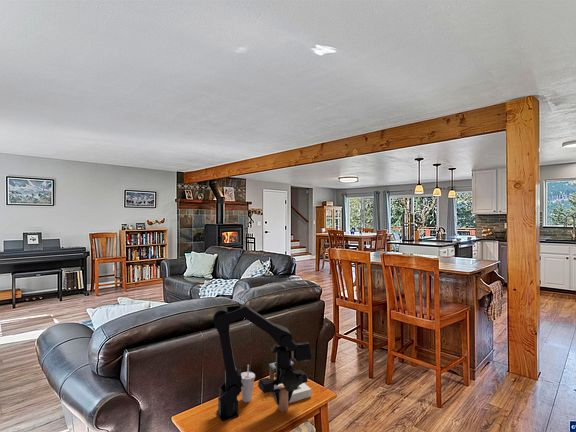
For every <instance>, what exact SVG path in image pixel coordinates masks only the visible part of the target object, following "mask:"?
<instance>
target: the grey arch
mask: <svg viewBox="0 0 576 432" xmlns="http://www.w3.org/2000/svg"><path fill="white" fill-rule="evenodd" d="M275 363H276V361H275V362H272V363H269V364H268V366H269V377H268V378H269V379H270V380H275V376H274V374H275V370H276V367H275ZM293 365H294V361H292V360H291V366H293Z"/></svg>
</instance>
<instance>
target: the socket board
mask: <svg viewBox="0 0 576 432" xmlns="http://www.w3.org/2000/svg"><path fill="white" fill-rule="evenodd" d="M280 385H283V384H279V385H278V386H280ZM310 397H312V388H311V387H310V386H309V385H307V383H302V384H301V385H299V386H298V389H296V390H294V391H293V394H292V396H291V399H290V402H288V404H292V403H295V402H297V401H301V400H303V399H307V398H310Z"/></svg>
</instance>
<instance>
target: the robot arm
mask: <svg viewBox="0 0 576 432" xmlns="http://www.w3.org/2000/svg"><path fill="white" fill-rule="evenodd" d="M212 315H213V317H212V319H213V323H214V326H215V330H216V332H217V334H218V336H219V339H220V340H219V341H220V346H221V353H222V359H223V364H224V369H225V374H224V375H225V376H224V377H225V379H224V380H225V381H224V382H223V383H222V384H221V385H220V386H219V396H218V398H217V400H218V401H217V410H216V413H217V416H218V418H219V419H220V421H221V422H224V421H227V420H230V419H234V418H238V417H239V400H238V396H240V394H242V393H241V390H242V388H241V386H242V387H243V381H242V377H241V373H242V372H241V371H242V370H241V368H238V369H237V367H236V364H235V363H236V362H235V358H234V352H233V345H232V341H231V334H230V323H233V322H236V321H238V320H241V319H245V320H247V321H248V322H250V323H251V324H253V325H254V326H256V327H257V328H259V329H260V330H262V331H264V332H265V333H267V334H268V335H269V336H270V337H271V338H272V340H274V341H275V342H276V343H275V344H274V345H272V346H271V347H270V350H271V352H272V354H273V353H275V362H276V363H275V362H274V363H275V367H276V369H275V373H274V380H270V379H269V378H270V377H263V378H260V379H259V380H258V382H257V387H258V388H259V389H260V390H261V391H262V393H263V394H269V393H272V396H273V399H274V401H275V403H276V405H277V406H278V405H279V392H280V390H279V389H278V385H279V384H283V385H284V387H285V389H286V391H288V402H290V399H291V396H292V394H293V391H294V390H296V389H298V386H299V385H301V384H302V383H305V384H307V383H308V380H309V379H308V375H307V373H305V372H304V371H303V370H301V369H296V370H294V367H293V365H291V361H292V360H294V361H295V362H296V363H297V362H311V360H312V353H311V351H312V350H311V348H310V343H309V341H304V342H296V341H295V340H294V339H293V335H292V333H291V331H290V330H289V329H288V328H287V327H285V326H283V325H281V324H277V323H273V322H272V321H271V320H269V319H267V318H266V317H265V316H263V315H262V314H260V313H258V312H257V311H255V310H254V309H252V308H251V307H250V306H249V305H247V304H245V303H244V304H239V305H228V306H226V305H225V306H224V305H220V306H217V307H216V308H214V311H213V314H212ZM277 344H278V345H277Z"/></svg>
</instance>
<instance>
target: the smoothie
mask: <svg viewBox="0 0 576 432" xmlns="http://www.w3.org/2000/svg"><path fill="white" fill-rule="evenodd" d="M241 377H242V381H243V387H242V386H241V388H242V390H241V393H240V394H241V399H242V402H244V403H249V402H251V401H252V399H253V391H254V384H255V379H256V374H255V373H254V372H252V371H250V364H247V371H244V372H241Z"/></svg>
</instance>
